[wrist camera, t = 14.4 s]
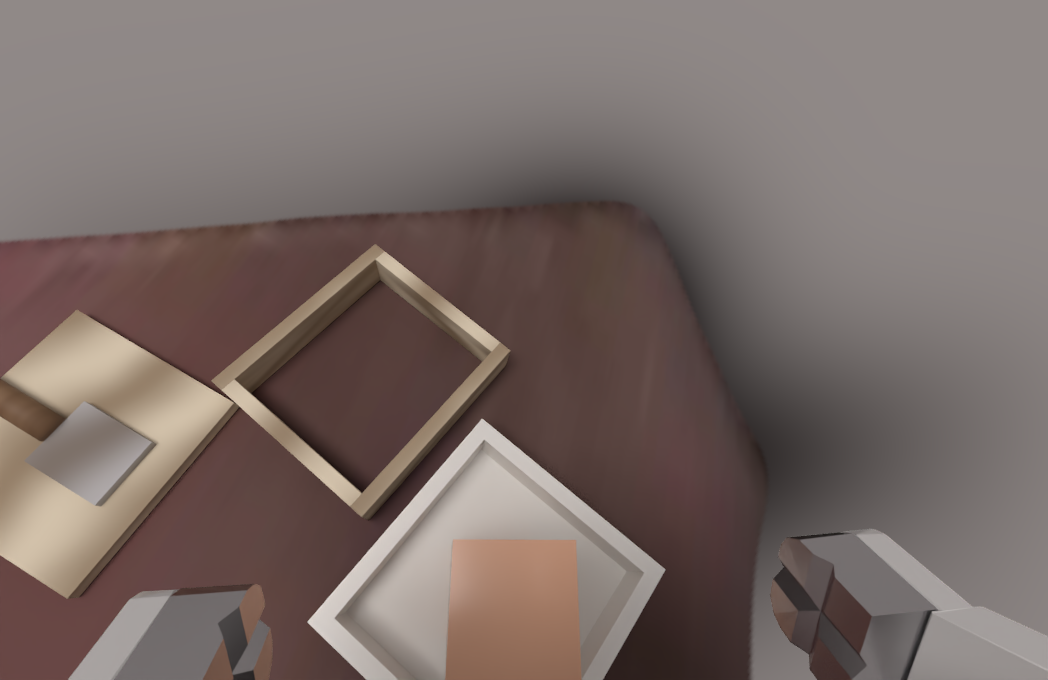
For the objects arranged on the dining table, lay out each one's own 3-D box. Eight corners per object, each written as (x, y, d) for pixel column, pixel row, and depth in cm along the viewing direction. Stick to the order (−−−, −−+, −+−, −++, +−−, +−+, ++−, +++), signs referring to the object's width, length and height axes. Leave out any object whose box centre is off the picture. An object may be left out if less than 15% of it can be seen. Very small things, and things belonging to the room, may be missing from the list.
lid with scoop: (239, 406, 28) (223, 395, 26) (78, 597, 24) (45, 601, 22) (83, 314, 29) (56, 296, 27) (-101, 480, 25) (-149, 474, 23)
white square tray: (640, 568, 28) (665, 569, 25) (509, 790, 23) (518, 827, 20) (478, 433, 30) (482, 418, 26) (325, 613, 25) (307, 622, 22)
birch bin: (505, 365, 32) (510, 350, 29) (368, 520, 27) (361, 517, 25) (380, 265, 33) (375, 244, 31) (230, 394, 29) (211, 380, 26)
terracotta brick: (533, 639, 25) (581, 686, 16) (446, 641, 24) (444, 690, 15) (532, 545, 27) (576, 539, 18) (451, 545, 26) (453, 539, 17)
